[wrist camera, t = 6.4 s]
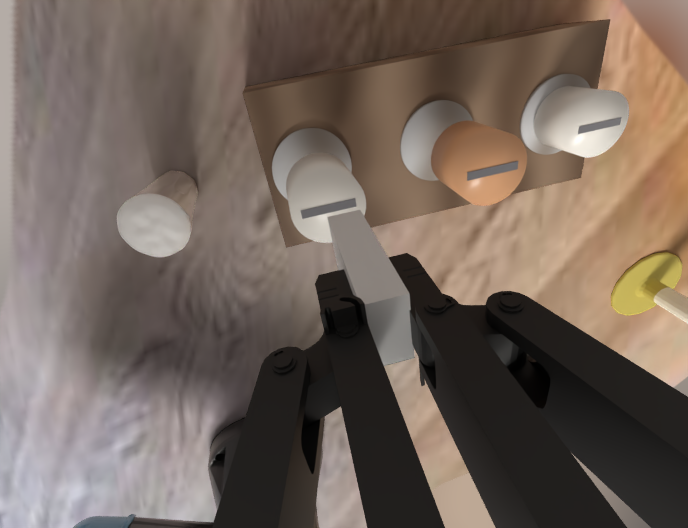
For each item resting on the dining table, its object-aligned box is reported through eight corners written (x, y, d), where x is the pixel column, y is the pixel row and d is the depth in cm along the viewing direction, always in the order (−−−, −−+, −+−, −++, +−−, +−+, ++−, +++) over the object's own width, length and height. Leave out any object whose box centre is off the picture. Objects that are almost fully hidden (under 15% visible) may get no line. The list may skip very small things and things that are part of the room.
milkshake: (224, 192, 32) (211, 243, 24) (174, 222, 33) (143, 281, 24) (190, 147, 30) (162, 184, 22) (136, 179, 31) (88, 228, 22)
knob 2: (530, 150, 30) (565, 163, 26) (537, 92, 28) (576, 98, 24) (580, 139, 30) (621, 150, 27) (590, 80, 28) (636, 85, 24)
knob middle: (431, 191, 26) (457, 213, 23) (429, 128, 24) (458, 140, 20) (489, 178, 26) (523, 197, 23) (493, 114, 24) (531, 124, 21)
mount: (283, 223, 35) (286, 249, 30) (245, 86, 29) (242, 93, 24) (544, 163, 37) (584, 179, 33) (562, 23, 31) (614, 18, 26)
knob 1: (294, 223, 25) (299, 250, 22) (278, 160, 23) (281, 180, 20) (356, 209, 26) (370, 233, 22) (346, 146, 23) (360, 162, 20)
